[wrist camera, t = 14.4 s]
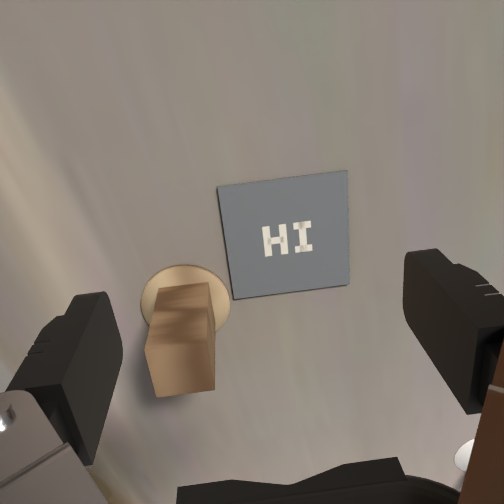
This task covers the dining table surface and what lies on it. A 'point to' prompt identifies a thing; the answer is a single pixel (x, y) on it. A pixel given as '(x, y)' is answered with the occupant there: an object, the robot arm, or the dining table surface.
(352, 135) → the dining table surface
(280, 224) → the blue-gray tile
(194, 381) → the walnut block
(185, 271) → the coaster
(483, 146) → the dining table surface
